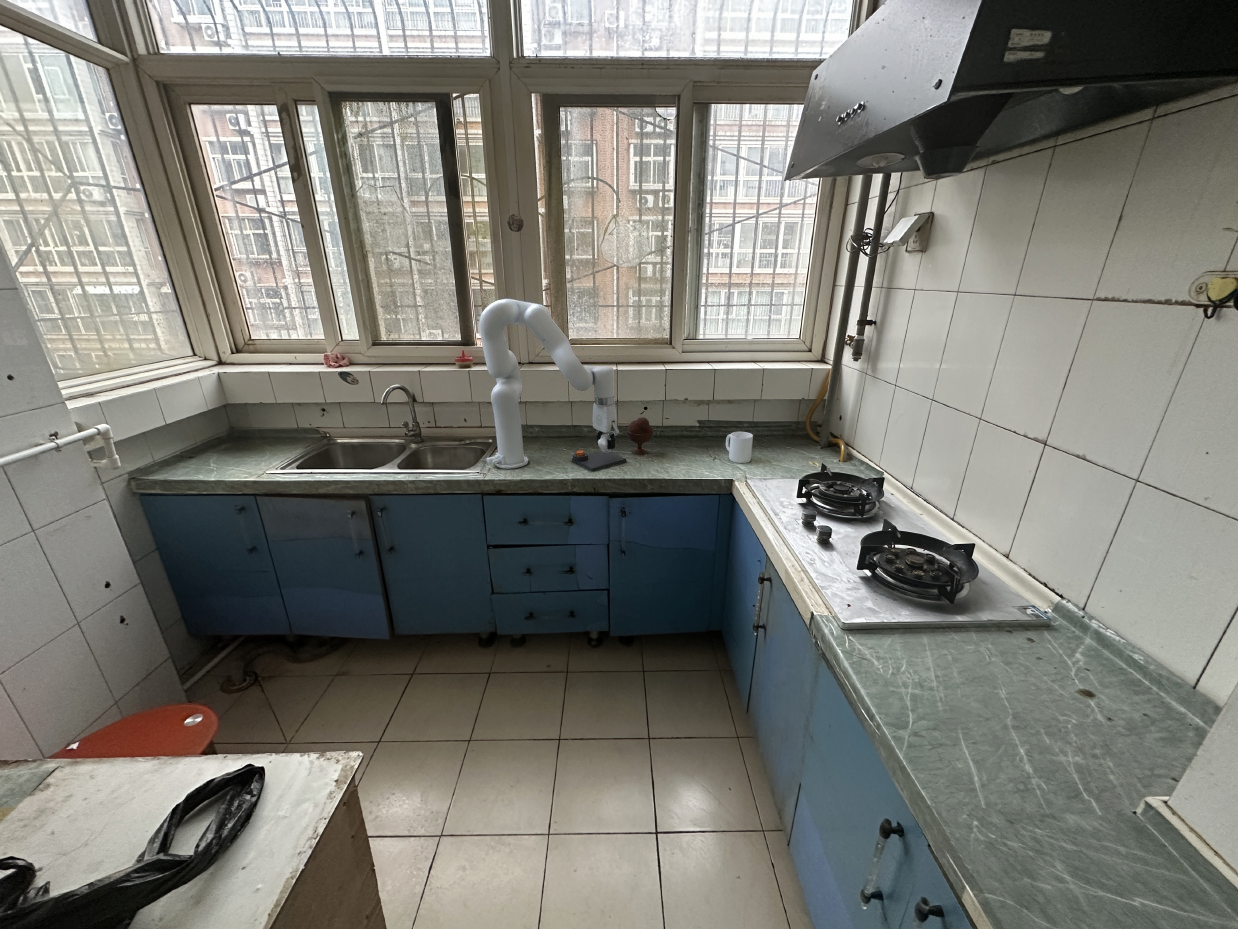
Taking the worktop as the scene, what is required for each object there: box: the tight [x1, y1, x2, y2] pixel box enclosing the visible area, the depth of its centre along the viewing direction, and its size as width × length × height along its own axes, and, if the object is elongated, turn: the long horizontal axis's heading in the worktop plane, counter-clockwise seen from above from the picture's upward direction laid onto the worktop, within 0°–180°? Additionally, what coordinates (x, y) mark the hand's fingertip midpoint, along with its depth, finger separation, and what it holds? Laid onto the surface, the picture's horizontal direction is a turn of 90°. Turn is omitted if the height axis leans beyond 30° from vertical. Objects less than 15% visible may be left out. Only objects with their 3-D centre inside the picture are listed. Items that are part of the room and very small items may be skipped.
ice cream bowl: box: [626, 416, 654, 456], centre depth 199 cm, size 11×11×15 cm
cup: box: [725, 431, 754, 464], centre depth 193 cm, size 8×12×10 cm
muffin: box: [597, 433, 612, 452], centre depth 190 cm, size 6×6×7 cm
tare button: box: [576, 450, 584, 456], centre depth 192 cm, size 3×3×2 cm
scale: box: [571, 450, 627, 472], centre depth 192 cm, size 16×14×3 cm
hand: (605, 446), depth 190 cm, fingers closed on muffin, 6 cm apart
